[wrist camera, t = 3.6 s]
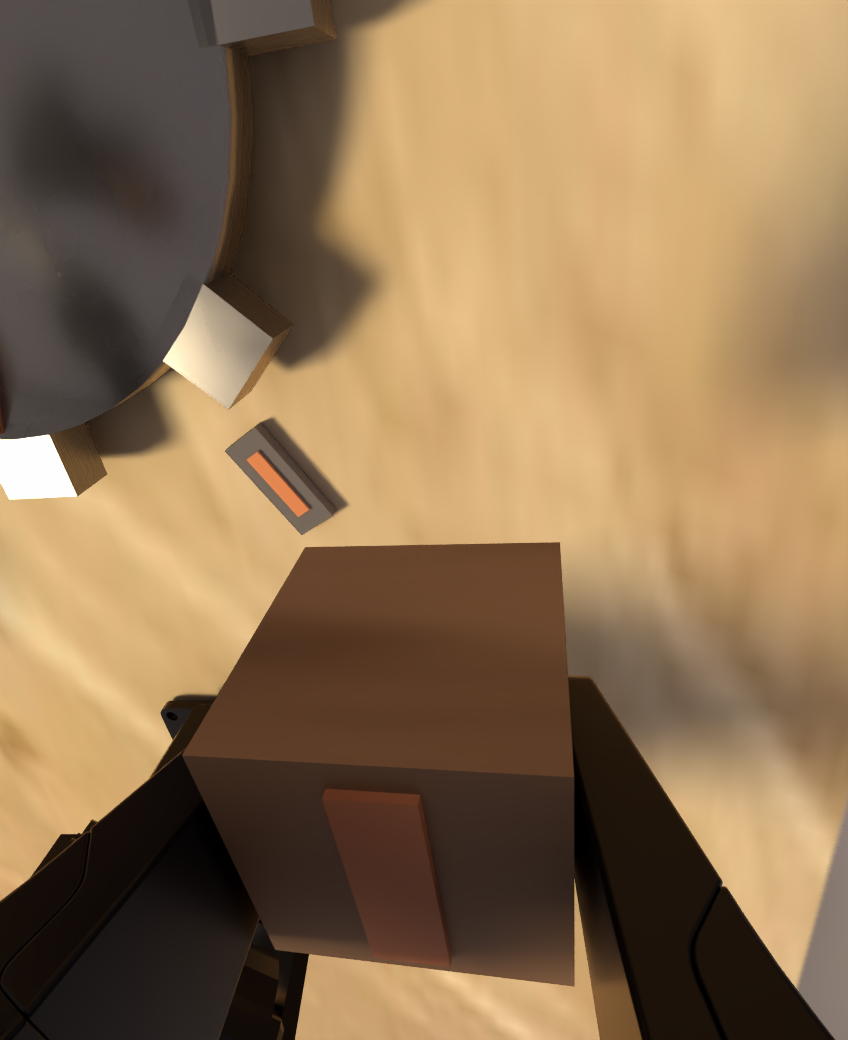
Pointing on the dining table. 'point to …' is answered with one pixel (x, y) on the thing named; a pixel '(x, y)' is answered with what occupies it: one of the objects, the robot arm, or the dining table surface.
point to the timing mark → (280, 479)
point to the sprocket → (126, 214)
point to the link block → (404, 760)
